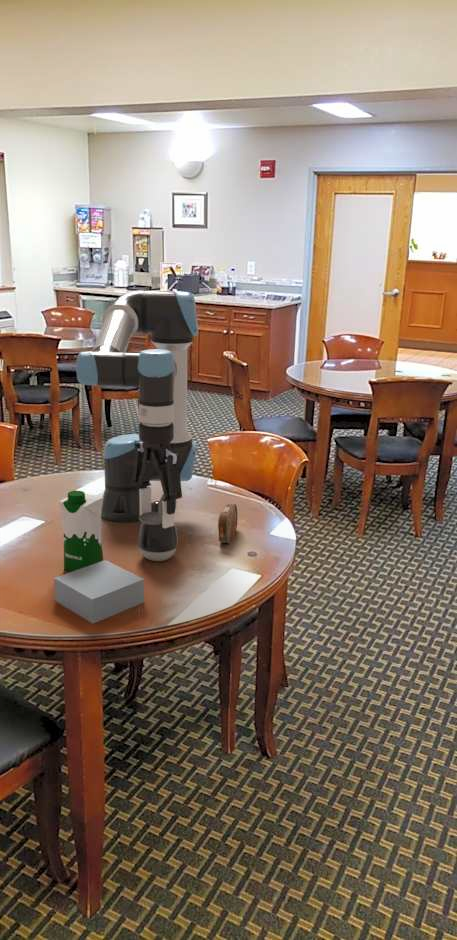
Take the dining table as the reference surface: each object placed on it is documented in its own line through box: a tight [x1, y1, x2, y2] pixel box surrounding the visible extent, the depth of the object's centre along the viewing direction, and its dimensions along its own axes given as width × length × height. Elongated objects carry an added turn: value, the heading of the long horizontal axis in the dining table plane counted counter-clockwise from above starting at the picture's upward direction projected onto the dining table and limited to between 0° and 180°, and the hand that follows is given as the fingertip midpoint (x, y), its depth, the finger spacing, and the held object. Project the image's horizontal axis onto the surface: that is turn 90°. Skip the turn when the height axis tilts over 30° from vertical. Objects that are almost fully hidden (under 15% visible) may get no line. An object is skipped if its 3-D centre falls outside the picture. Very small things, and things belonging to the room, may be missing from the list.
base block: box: [53, 559, 145, 625], centre depth 162 cm, size 14×14×6 cm
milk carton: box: [58, 490, 104, 572], centre depth 176 cm, size 9×9×20 cm
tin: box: [217, 503, 238, 544], centre depth 199 cm, size 15×3×8 cm, turn 168°
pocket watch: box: [138, 493, 177, 525], centre depth 161 cm, size 8×8×10 cm
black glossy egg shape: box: [137, 500, 179, 562], centre depth 184 cm, size 10×10×15 cm
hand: (156, 520), depth 163 cm, fingers closed on pocket watch, 8 cm apart
